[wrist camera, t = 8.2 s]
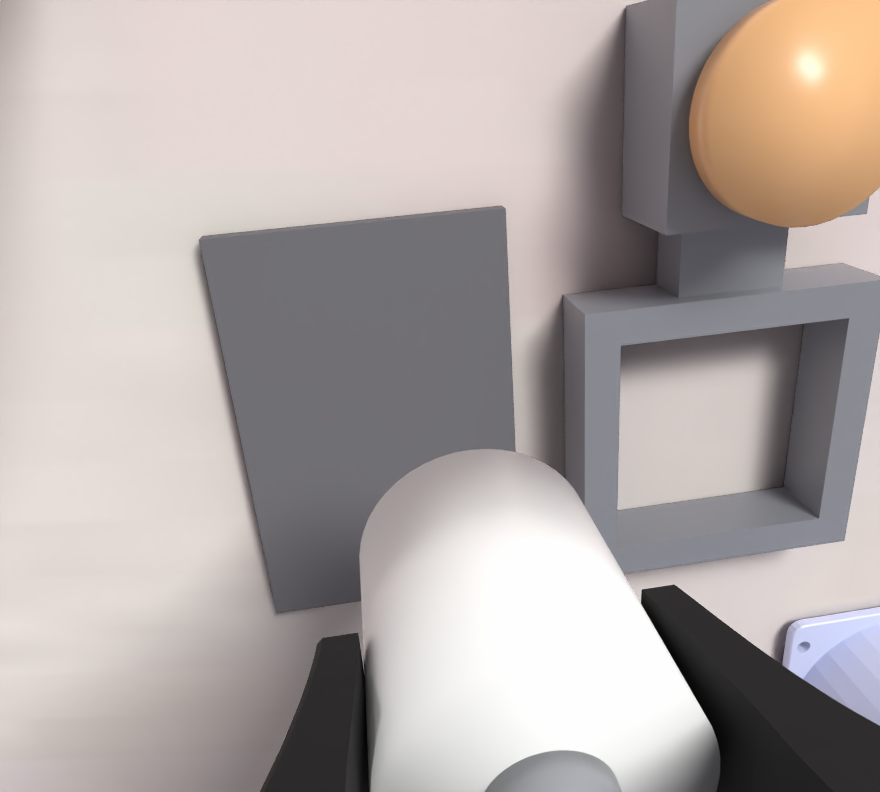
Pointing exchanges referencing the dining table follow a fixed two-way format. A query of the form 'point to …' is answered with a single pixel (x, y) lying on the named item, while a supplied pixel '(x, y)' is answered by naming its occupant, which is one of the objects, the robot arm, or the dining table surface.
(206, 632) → the dining table surface
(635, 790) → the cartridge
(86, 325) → the dining table surface
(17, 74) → the dining table surface
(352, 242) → the mat
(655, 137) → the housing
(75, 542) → the dining table surface
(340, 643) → the robot arm
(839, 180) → the plunger
